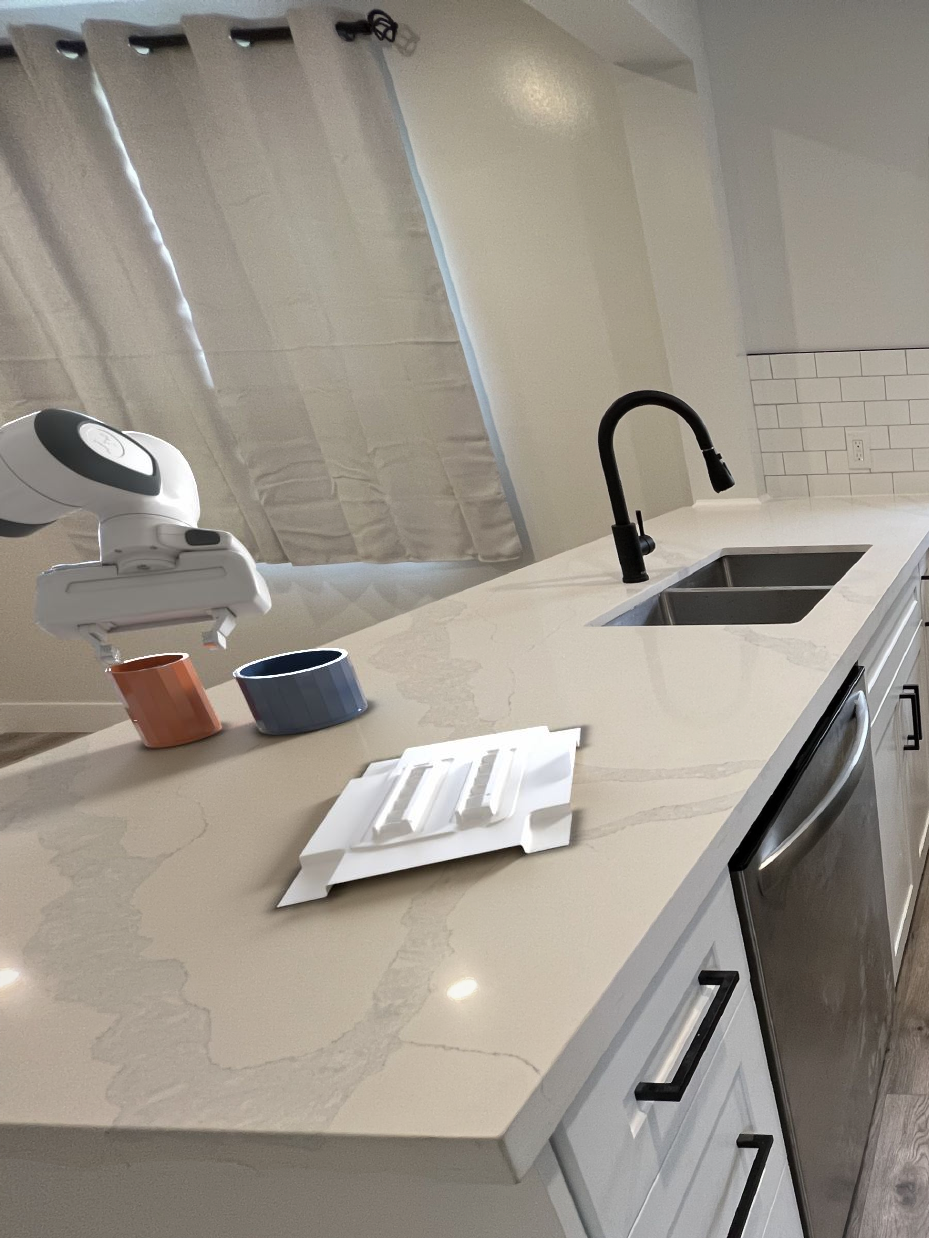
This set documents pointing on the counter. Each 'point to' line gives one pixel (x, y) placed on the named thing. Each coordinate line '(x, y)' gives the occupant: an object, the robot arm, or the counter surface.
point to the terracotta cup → (164, 699)
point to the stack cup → (301, 691)
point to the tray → (444, 807)
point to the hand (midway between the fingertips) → (163, 655)
